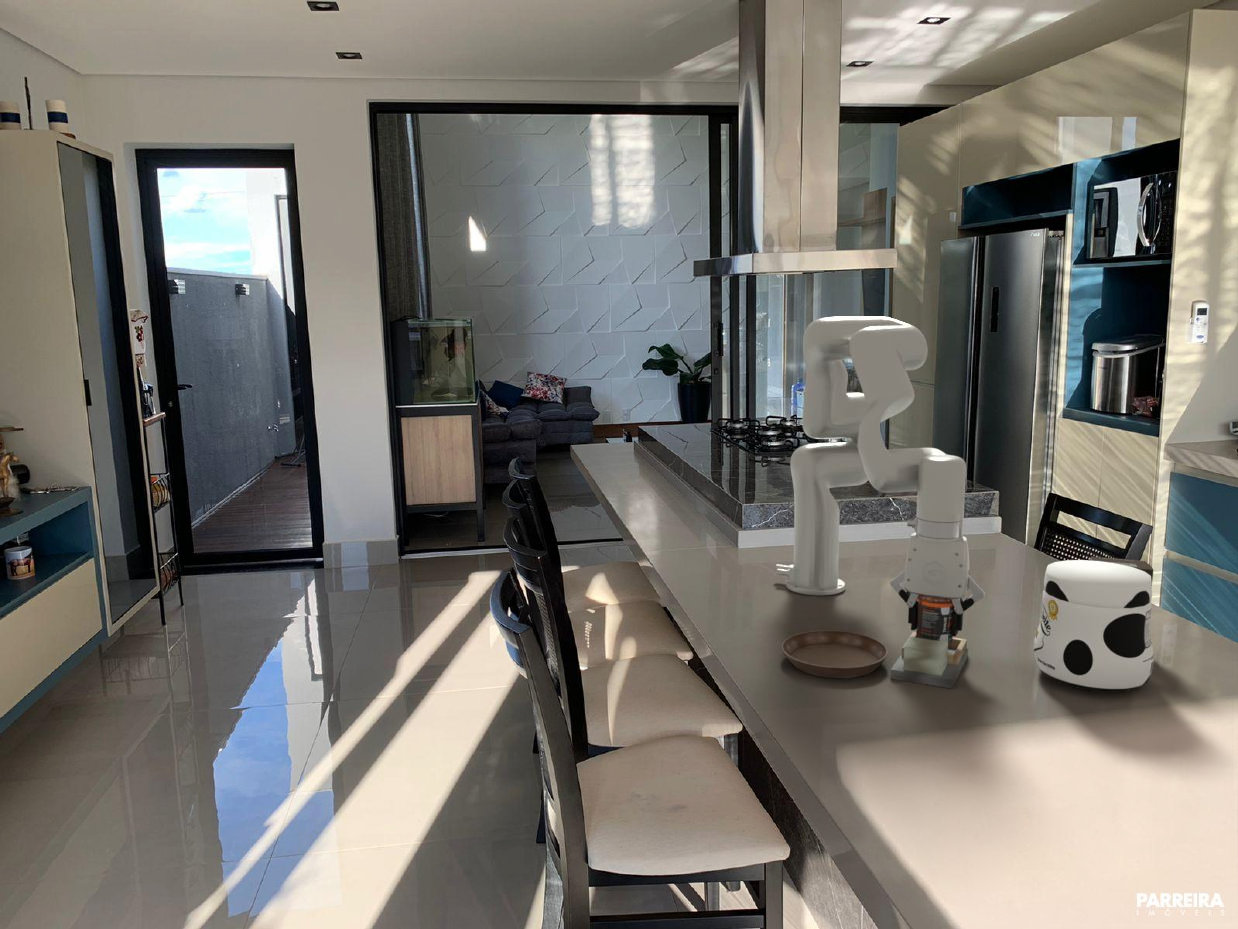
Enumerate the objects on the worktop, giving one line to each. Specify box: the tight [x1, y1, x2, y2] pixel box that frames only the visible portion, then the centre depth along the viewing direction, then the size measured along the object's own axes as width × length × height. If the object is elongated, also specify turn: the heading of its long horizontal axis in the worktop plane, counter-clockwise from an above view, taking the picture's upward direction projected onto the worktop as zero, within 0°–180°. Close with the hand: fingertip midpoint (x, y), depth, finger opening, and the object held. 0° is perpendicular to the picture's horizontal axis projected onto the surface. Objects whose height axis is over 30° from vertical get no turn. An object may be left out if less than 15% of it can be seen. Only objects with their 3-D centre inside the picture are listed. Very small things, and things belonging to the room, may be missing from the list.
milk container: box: [1033, 559, 1155, 693], centre depth 151 cm, size 17×17×18 cm
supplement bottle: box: [915, 595, 955, 648], centre depth 161 cm, size 6×6×11 cm
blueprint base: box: [890, 631, 969, 689], centre depth 159 cm, size 10×16×6 cm, turn 151°
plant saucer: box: [781, 629, 888, 679], centre depth 162 cm, size 18×18×3 cm
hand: (934, 630), depth 161 cm, fingers closed on supplement bottle, 6 cm apart
